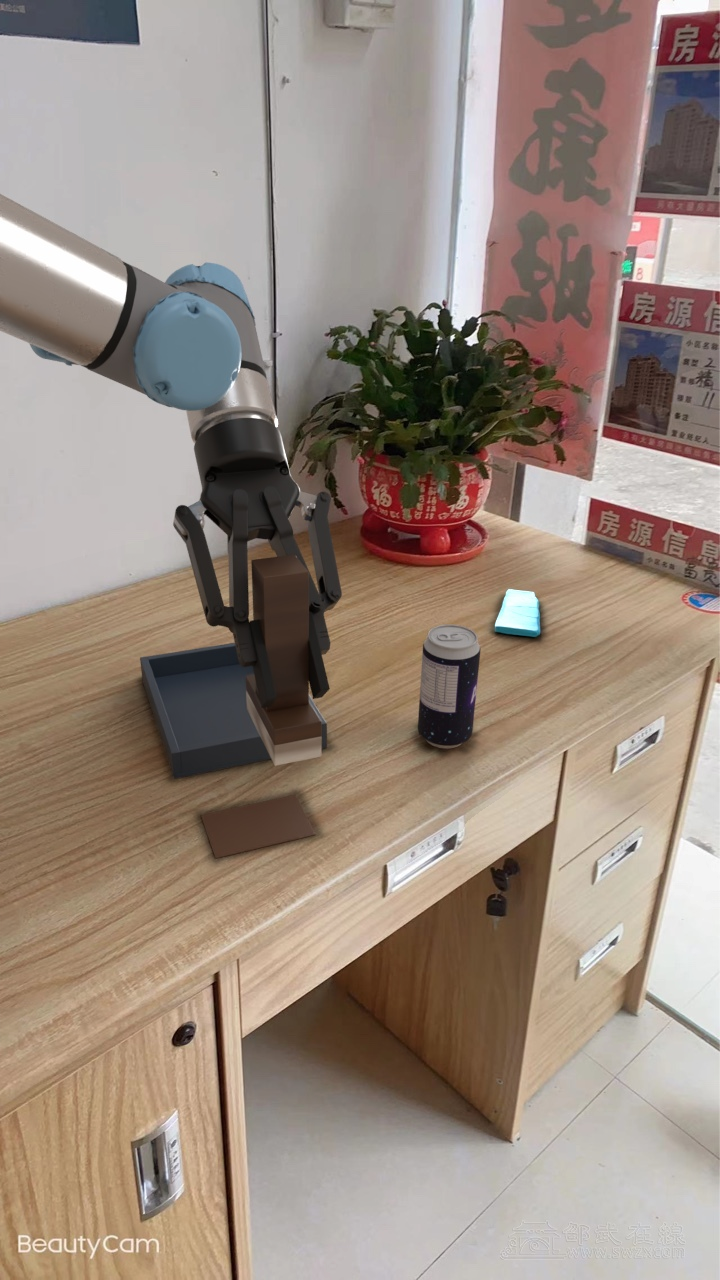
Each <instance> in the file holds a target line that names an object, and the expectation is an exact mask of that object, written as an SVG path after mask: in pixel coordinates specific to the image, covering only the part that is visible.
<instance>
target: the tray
mask: <svg viewBox="0 0 720 1280" xmlns="http://www.w3.org/2000/svg"><path fill="white" fill-rule="evenodd" d="M139 661H140V662H139V663H140V671H141V680H142V684H143V686H144V689H145V692H146V696H147V699H148V702H149V705H150V708H151V711H152V714H153V718H154V721H155V723H156V724H155V725H156V727H157V730H158V733H159V736H160V739H161V743H162V746H163V748H164V752H165V755H166V758H167V761H168V764H169V767H170V770H171V771H170V772H171V773H172V776H173V779H174V780H175V779H176V780H177V779H181V778H186V777H190V776H194V775H195V776H196V775H201V774H204V773H210V772H214V771H220V770H224V769H230V768H234V767H239V766H240V767H241V766H244V765H250V764H254V763H259V762H265V761H269V760H272V759H271V757H270V755H269V753H268V751H267V749H266V747H265V745H264V743H263V741H262V739H261V737H260V735H259V733H258V731H257V729H256V727H255V724H254V722H253V720H252V718H251V716H250V714H249V712H248V710H247V701H246V675H252V674H254V671H253V666H249V667H242V666H241V664H240V663H239V660H238V655H237V650H236V646H235V642H229V643H224V644H218V645H211V646H206V647H199V648H192V649H186V650H180V651H173V652H167V653H159V654H154V655H148V656H147V655H146V656H140V657H139ZM309 702H310V703H311V705H312V707H313V708H314V710H315V711H316V713H317V715H318V716H319V718H320V720H321V721H322V736H321V737H322V739H321V750H322V749H327V748H328V723H327V721H326V719H325V718H324V717H323V715H322V714H321V712H320V710H319V709H318V707H317V705H316V704H315V701H314V699H313V698H312V697H311V695H309Z"/></svg>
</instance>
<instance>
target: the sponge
mask: <svg viewBox="0 0 720 1280" xmlns="http://www.w3.org/2000/svg"><path fill="white" fill-rule="evenodd" d="M535 593H536V592H534V591H530V590H529V591H528V590H518V589H512V588H509V589H507V590H506V592H505V596H504V598H503V600H502V604H501V608H500V610H499V613H498V615H497V618H496V620H495V623H494V632H496V633H501V634H505V635H514V636H517V635H518V636H525V637H530V638H537V637H538V636H540V634H541V622H540V620H541V614H540V601H539V599H538V598H537V597H536V594H535Z"/></svg>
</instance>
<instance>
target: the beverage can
mask: <svg viewBox="0 0 720 1280" xmlns="http://www.w3.org/2000/svg"><path fill="white" fill-rule="evenodd" d="M421 654H422V655H421V671H420V686H419V701H418V702H419V703H418V717H417V718H418V719H417V732H418V734H419V736H421V737H422V738H423V739H424V740H425V741H426V742H427V743H428V744H429V745H431V746H433V747H435V748H439V749H454V748H457V747H460V746H461V745H462V744H464V743H466V742H467V741H469V739H471V737H472V736H473V731H474V721H475V720H474V719H475V711H476V702H477V701H476V699H477V689H478V680H479V669H480V661H481V660H480V659H481V646H480V644H479V642H478V634H477V633H476V632H475V631H474V630H473V629H471V628H469V627H468V626H467V627H466V626H464V625H458V624H439V625H435V626H434V627H432V628H431V629H429V631H428V632H427V637H426V639H425V640H424V641H423V643H422V653H421Z"/></svg>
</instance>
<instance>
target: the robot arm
mask: <svg viewBox="0 0 720 1280" xmlns="http://www.w3.org/2000/svg"><path fill="white" fill-rule="evenodd" d="M255 319H256V318H255V315H254V311H253V309H252V307H251V305H250V302H249V298H248V294H247V292H246V290H245V287H244V284H243V282H242V280H241V279H240V277H239V276H238V275H237V274H236V273H235V272H234V271H233V270H231V269H230V268H228V267H226V266H225V265H222V264H220V263H219V264H218V263H214V262H204V263H203V264H202V265H195V264H193V263H191V264H187V265H184V266H182V267H180V268H178V269H176V270H175V271H173V272H172V273H171V274H170V275H169V276H168V277H167V278H166V280H165V281H163V280H160V279H158V278H157V277H155V276H153V275H151V274H149V273H147V272H146V271H143V270H142V269H140V268H139V267H136V266H134V265H131V264H129V263H127V262H125V261H124V260H122V259H121V258H120V257H119V256H116V255H115V254H113V253H111V252H109V251H107V250H105V249H103V248H102V247H100V246H98V245H96V244H94V243H93V242H91V241H89V240H88V239H85V238H84V237H81V236H79V235H78V234H76V233H74V232H72V231H70V230H69V229H66V227H63V226H61V225H59V224H57V223H56V222H53V221H52V220H50V219H48V218H46V217H44V216H42V215H41V214H39V213H37V212H35V211H33V210H31V209H30V208H27V207H25V206H24V205H22V204H20V203H19V202H17V201H15V200H13V199H12V198H9V197H8V196H5V195H4V194H2V193H0V332H2V333H5V334H6V335H9V336H12V337H14V338H16V339H19V340H21V341H23V342H26V343H27V344H29V346H30V348H31V350H32V351H33V353H34V354H35V355H36V356H38V357H39V358H41V359H44V360H48V361H52V362H53V361H54V362H59V363H63V364H65V365H66V366H68V367H72V366H73V365H75V366H80V367H83V368H85V369H87V370H88V371H90V372H92V373H94V374H98V375H99V376H102V377H104V378H106V379H109V380H110V381H113V382H116V383H118V384H120V385H123V386H125V387H127V388H130V389H132V390H134V391H137V392H138V393H141V394H143V395H145V396H147V398H148V399H150V400H151V401H153V402H155V403H157V404H159V405H162V406H164V407H168V408H174V409H177V410H181V411H185V412H186V417H187V422H188V427H189V432H190V436H191V437H190V438H191V440H192V442H193V444H194V445H193V451H194V457H195V461H196V466H197V470H198V476H199V480H200V485H201V493H200V496H199V500H198V501H196V502H194V503H192V504H190V505H188V506H187V505H185V504H180V505H178V506H177V507H176V508H175V511H174V517H173V523H172V526H173V528H174V529H175V531H176V533H177V534H178V535H179V537H180V538H181V539H182V541H183V542H184V544H185V546H186V549H187V554H188V557H189V561H190V564H191V569H192V572H193V576H194V580H195V583H196V587H197V591H198V595H199V599H200V603H201V606H202V611H203V614H204V617H205V620H206V621H205V622H206V623H207V624H208V625H209V626H210V627H213V628H214V627H218V626H219V627H225V628H227V629H228V631H229V632H230V633H231V634H232V637H233V640H234V641H233V642H234V643H235V646H236V650H237V655H238V660H239V663H240V664H241V666H242V667H249V666H253V671H254V675H255V680H256V685H257V689H258V694H259V699H260V703H261V708H265V707H271V705H272V704H273V703H274V701H275V700H276V699H277V696H276V692H275V687H274V683H273V678H272V673H271V669H270V664H269V660H268V655H267V651H266V646H265V643H264V638H263V634H262V629H261V625H260V620H253V619H252V620H250V619H249V617H250V597H249V592H250V591H249V557H248V555H249V553H248V543H249V542H250V541H253V540H256V539H259V540H267V541H268V544H269V546H270V548H271V550H272V551H274V552H275V555H276V557H279V556H287V555H296V557H297V558H298V559H299V560H300V562H301V563H302V564H303V565H304V567H305V568H306V569H307V570H308V572H309V689H310V691H311V695H312V700H317V699H321V698H323V697H324V696H325V695H326V694H327V693H328V692H329V691H330V684H329V680H328V679H329V678H328V676H327V671H326V667H325V663H324V658H323V655H327V653H328V652H329V651H330V649H331V640H330V639H331V638H330V635H329V631H328V627H327V623H326V619H325V613H326V612H328V611H331V610H333V609H334V608H336V607H335V606H337V604H338V603H339V601H340V600H341V599H342V596H343V593H342V586H341V582H340V576H339V571H338V565H337V560H336V556H335V550H334V549H335V548H334V545H333V544H334V543H333V538H332V533H331V528H330V523H329V522H330V521H329V518H328V516H329V511H330V507H331V500H332V497H331V495H330V493H328V492H326V491H320V492H318V493H317V495H316V494H313V493H309V492H305V491H302V490H301V488H300V486H299V484H298V483H297V482H296V481H295V480H294V479H293V477H292V475H291V472H290V468H289V467H290V466H289V464H288V463H289V462H288V459H287V455H286V451H285V446H284V442H283V437H282V434H281V430H280V429H279V428H278V425H279V421H278V416H277V412H276V407H275V404H274V401H273V397H272V393H271V389H270V386H269V382H268V377H267V373H266V369H265V363H264V359H263V355H262V351H261V345H260V340H259V336H258V332H257V327H256V326H257V325H256V320H255ZM296 507H298V508H299V509H300V512H301V516H302V518H303V520H304V521H306V522H307V523H308V524H307V533H308V539H309V546H310V551H311V556H312V557H311V558H312V560H313V567H314V573H315V579H316V584H315V581H314V579H313V577H312V575H311V572H310V569H309V568H308V565H307V563H306V561H305V558H304V556H303V554H302V552H301V549H300V547H299V545H298V543H297V541H296V538H295V536H294V529H293V526H292V524H291V522H290V521H291V520H289V519H290V518H291V515H292V513H293V511H294V509H295V508H296ZM205 516H206V517H207V518H208V519H209V520H210V521H211V522H212V523H213V524H215V526H217V527H218V528H219V529H220V530H221V531H222V532H224V534H225V535H226V537H227V538H226V542H227V546H226V547H227V554H228V556H227V557H228V596H229V597H228V600H229V601H228V602H229V603H228V605H229V606H227V605H225V604H224V600H223V596H222V593H221V588H220V586H219V585H220V584H219V582H218V581H219V580H218V578H217V575H216V570H215V567H214V563H213V560H212V556H211V552H210V548H209V545H208V541H207V538H206V534H205V531H204V527H205V524H206V519H205Z"/></svg>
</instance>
